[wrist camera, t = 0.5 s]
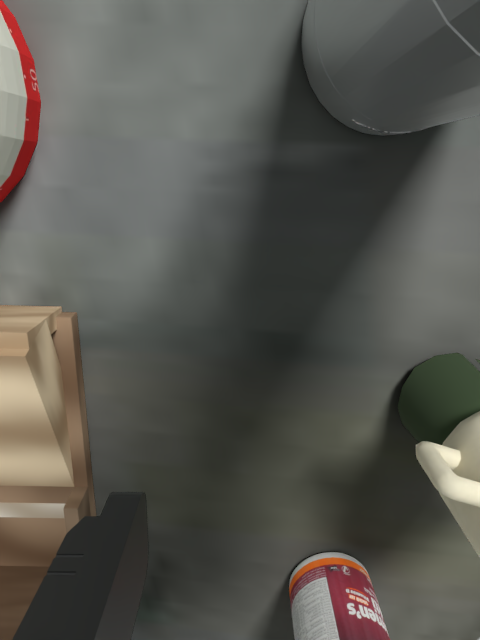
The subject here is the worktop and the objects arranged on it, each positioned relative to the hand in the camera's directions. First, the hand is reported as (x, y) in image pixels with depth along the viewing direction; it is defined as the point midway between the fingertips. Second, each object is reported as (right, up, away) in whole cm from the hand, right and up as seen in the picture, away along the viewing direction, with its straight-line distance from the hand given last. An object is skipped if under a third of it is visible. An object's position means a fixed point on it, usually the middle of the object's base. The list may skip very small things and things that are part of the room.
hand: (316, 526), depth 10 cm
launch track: (-16, -3, +21) cm, 27 cm away
